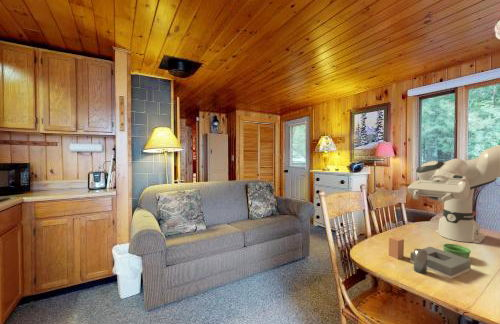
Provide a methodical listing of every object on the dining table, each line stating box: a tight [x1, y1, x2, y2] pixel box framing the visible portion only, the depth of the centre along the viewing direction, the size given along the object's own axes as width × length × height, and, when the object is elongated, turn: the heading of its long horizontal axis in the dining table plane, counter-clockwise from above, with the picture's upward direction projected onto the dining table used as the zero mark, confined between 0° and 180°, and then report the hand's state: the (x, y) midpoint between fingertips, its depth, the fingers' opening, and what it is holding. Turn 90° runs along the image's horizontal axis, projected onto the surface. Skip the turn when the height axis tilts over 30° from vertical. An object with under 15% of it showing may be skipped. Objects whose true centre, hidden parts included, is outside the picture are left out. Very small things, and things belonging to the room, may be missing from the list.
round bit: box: [413, 248, 428, 275], centre depth 90 cm, size 4×4×8 cm
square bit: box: [388, 235, 405, 260], centre depth 102 cm, size 4×4×8 cm
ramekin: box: [442, 243, 472, 260], centre depth 101 cm, size 9×9×4 cm
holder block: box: [409, 246, 472, 280], centre depth 94 cm, size 14×14×4 cm
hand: (427, 199), depth 95 cm, fingers open, 8 cm apart
